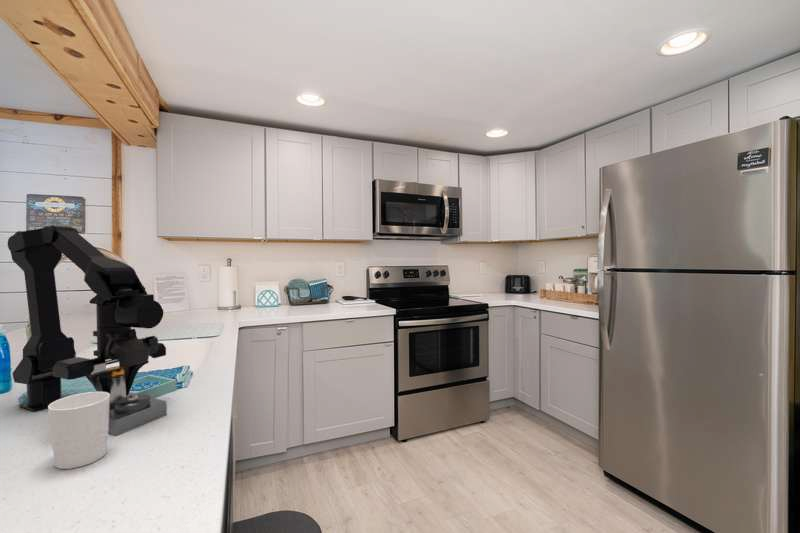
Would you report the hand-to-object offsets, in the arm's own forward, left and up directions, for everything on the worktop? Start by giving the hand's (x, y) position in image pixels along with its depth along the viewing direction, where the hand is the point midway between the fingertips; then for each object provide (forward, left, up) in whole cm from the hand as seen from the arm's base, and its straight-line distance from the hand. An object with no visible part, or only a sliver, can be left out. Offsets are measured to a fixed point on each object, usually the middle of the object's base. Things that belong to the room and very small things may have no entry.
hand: (115, 398), depth 78 cm
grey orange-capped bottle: (0, 0, -4) cm, 4 cm away
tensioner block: (+3, 0, -4) cm, 5 cm away
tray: (-8, +11, -4) cm, 14 cm away
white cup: (+12, -12, -4) cm, 17 cm away
